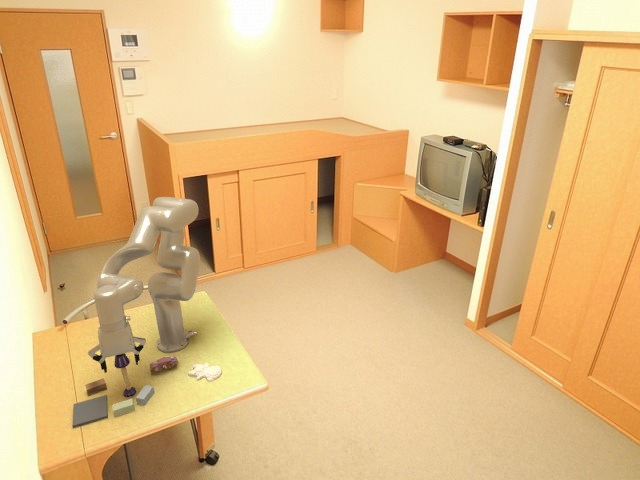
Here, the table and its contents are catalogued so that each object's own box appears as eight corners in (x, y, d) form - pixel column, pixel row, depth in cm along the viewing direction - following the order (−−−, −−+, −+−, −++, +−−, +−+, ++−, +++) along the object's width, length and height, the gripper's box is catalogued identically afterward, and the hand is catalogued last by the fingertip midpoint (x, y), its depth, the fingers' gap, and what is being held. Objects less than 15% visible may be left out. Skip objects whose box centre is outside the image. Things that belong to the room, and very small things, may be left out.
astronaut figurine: (197, 362, 168) (196, 356, 167) (226, 369, 165) (225, 362, 163) (184, 378, 160) (183, 371, 159) (214, 385, 157) (213, 379, 156)
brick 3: (146, 391, 154) (145, 385, 153) (154, 393, 153) (153, 386, 152) (137, 404, 149) (135, 397, 147) (145, 405, 148) (143, 399, 147)
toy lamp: (121, 399, 150) (112, 360, 143) (121, 390, 154) (112, 351, 147) (136, 395, 152) (128, 356, 145) (136, 386, 156) (128, 348, 149)
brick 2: (133, 405, 148) (131, 398, 147) (134, 411, 146) (133, 404, 145) (114, 411, 146) (112, 404, 144) (114, 417, 143) (113, 410, 142)
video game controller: (151, 377, 162) (150, 369, 157) (149, 366, 165) (148, 357, 160) (179, 368, 167) (179, 360, 161) (176, 358, 169) (176, 349, 164)
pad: (106, 397, 151) (106, 394, 151) (107, 417, 143) (107, 415, 142) (74, 406, 147) (73, 403, 147) (73, 428, 139) (72, 425, 139)
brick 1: (105, 384, 157) (103, 378, 156) (107, 389, 155) (105, 383, 153) (86, 391, 154) (85, 384, 152) (88, 396, 151) (86, 390, 150)
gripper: (140, 311, 147) (147, 353, 154) (82, 323, 140) (92, 366, 147) (142, 322, 141) (150, 366, 148) (82, 335, 134) (92, 380, 141)
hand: (121, 366), depth 147 cm, fingers open, 9 cm apart
